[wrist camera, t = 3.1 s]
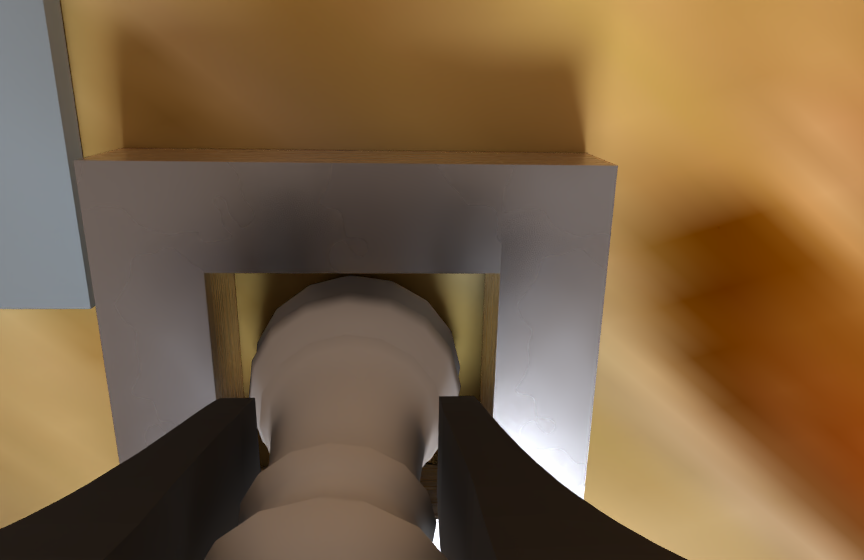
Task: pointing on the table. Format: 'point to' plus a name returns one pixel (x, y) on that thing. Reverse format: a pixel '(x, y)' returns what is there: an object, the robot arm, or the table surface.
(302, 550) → the rook chess piece
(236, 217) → the square collar
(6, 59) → the mat
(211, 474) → the robot arm
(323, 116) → the table surface
